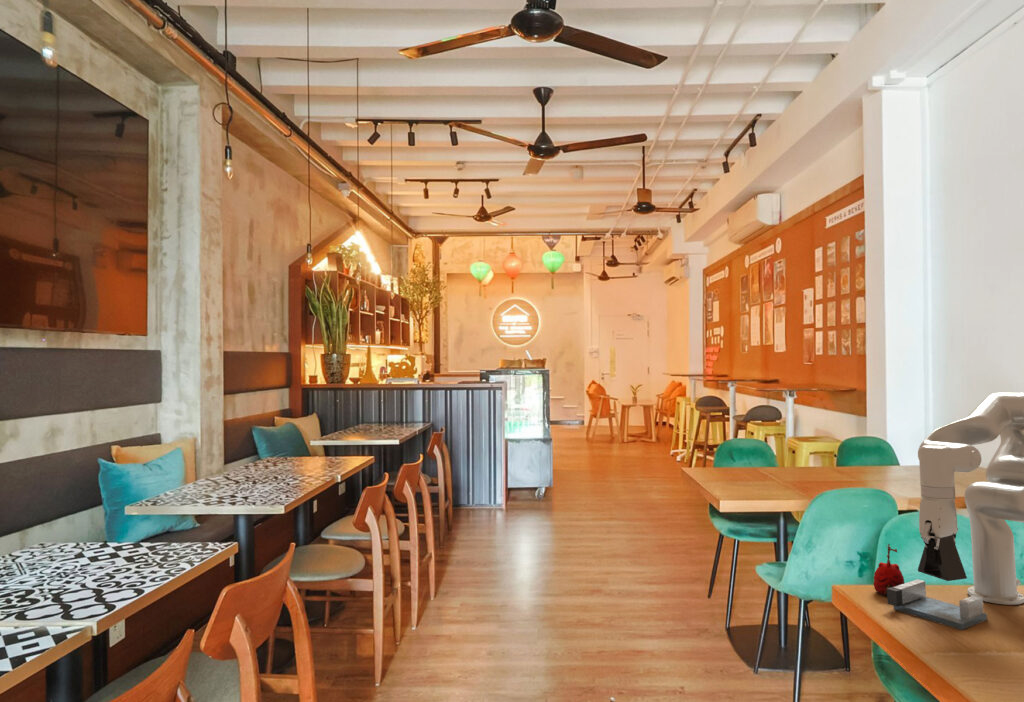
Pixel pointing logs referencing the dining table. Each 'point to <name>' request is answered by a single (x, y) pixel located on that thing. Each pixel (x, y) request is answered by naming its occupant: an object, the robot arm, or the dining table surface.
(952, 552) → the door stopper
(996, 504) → the robot arm
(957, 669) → the dining table surface
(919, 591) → the block
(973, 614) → the dark grey base plate
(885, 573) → the red clay folk toy
